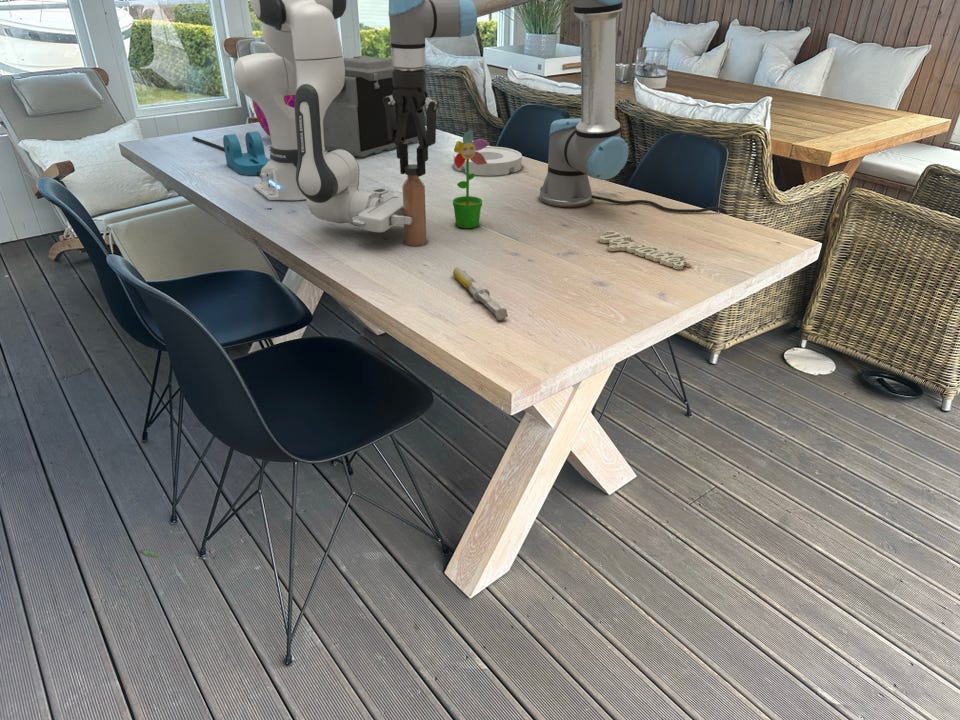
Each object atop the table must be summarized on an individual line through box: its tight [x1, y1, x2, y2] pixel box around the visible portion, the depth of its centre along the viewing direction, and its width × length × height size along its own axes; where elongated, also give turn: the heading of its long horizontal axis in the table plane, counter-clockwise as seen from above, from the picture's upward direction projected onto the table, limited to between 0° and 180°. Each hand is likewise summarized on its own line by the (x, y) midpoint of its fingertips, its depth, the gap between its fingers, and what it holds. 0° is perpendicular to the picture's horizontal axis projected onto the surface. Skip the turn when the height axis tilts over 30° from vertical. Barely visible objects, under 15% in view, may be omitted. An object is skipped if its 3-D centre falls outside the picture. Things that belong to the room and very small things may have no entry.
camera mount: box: [222, 131, 270, 176], centre depth 226 cm, size 18×10×10 cm, turn 35°
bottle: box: [401, 175, 427, 247], centre depth 168 cm, size 5×5×18 cm
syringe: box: [452, 266, 509, 321], centre depth 145 cm, size 25×4×3 cm, turn 21°
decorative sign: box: [599, 230, 690, 270], centre depth 167 cm, size 26×1×10 cm
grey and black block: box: [323, 55, 419, 159], centre depth 250 cm, size 37×22×30 cm, turn 144°
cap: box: [404, 163, 417, 176], centre depth 163 cm, size 4×4×2 cm
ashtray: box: [453, 145, 523, 177], centre depth 234 cm, size 23×23×4 cm
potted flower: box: [452, 129, 491, 229], centre depth 177 cm, size 9×8×25 cm
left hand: (418, 216), depth 169 cm, fingers closed on bottle, 5 cm apart
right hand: (413, 173), depth 164 cm, fingers closed on cap, 4 cm apart
